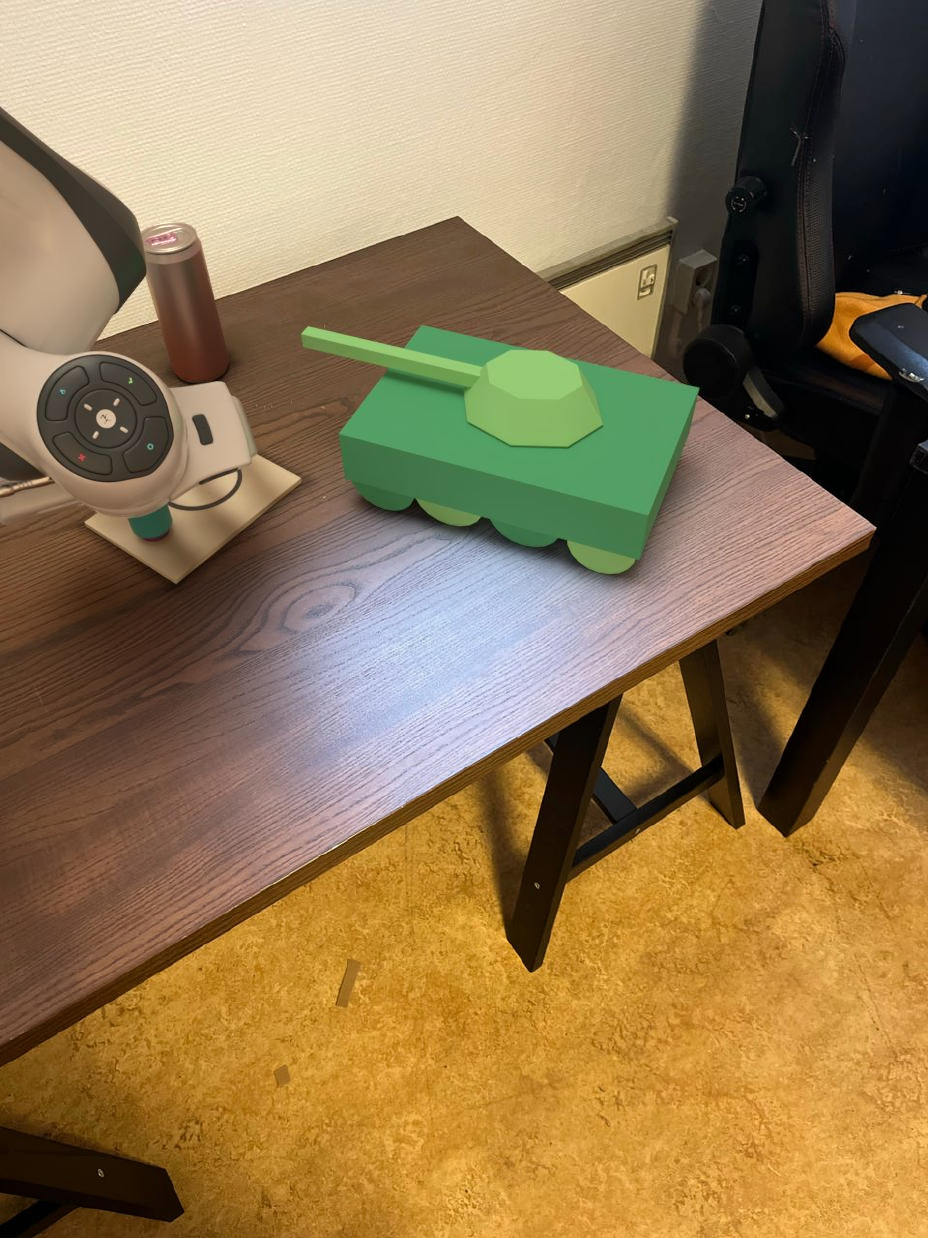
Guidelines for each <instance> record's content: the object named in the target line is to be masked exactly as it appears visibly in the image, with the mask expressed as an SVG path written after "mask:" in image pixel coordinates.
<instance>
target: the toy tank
mask: <svg viewBox="0 0 928 1238" xmlns="http://www.w3.org/2000/svg"><path fill="white" fill-rule="evenodd" d="M300 336H301V337H300V338H301V342H302V347H303V348H305V349H310V350H314V351H318V352H322V353H327V354H329V355H330V354H331V355H334V356H335V355H336V356H340V357H344V358H348V359H351V360H356V361H360V362H363V363H367V364H372V365H376V366H380V367H385V368H387V370H386V371H385V373H384V374H383V375H382V376H381V378H380V379H379V380H378V381H377V383H376V384H375V386H374V387H373V388H372V389H371V391H369V393H368V395H367V396H366V397H365V398H364V400H363V402H361V404H360V405H359V406H358V407H357V409H356V410H355V411H354V413H353V415H352V416H351V417H350V418H349V420H348V421H347V422H346V423H345V425H344V426H343V427H342V429H341V430H340V431H339V432H338V439H339V447H340V453H341V461H342V469H343V475H344V480H347V481H351V484H352V485H353V486H354V488H355V490H356V491H357V492H358V494H360V496H362V497H363V499H364V500H366V501H368V502H370V503H371V504H372V505H374V506H376V507H379V508H381V509H383V510H387V511H392V512H394V511H395V512H397V511H402V510H403V511H404V510H405V509H408V507H410V506H411V504H412V503H413V501H414V500H416V501H417V503H418V505H419V507H421V508H422V509H423V510H424V511H425V512H426V513H427V514H428V515H430V516H431V517H433V519H436V520H437V521H439V522H441V523H444V524H446V525H449V526H456V527H466V526H471V525H473V524H475V523H477V522H478V521H480V519H481V518H485V519H489V520H490V522H491V524H492V525H493V527H494V528H495V529H496V530H497V531H498V532H499V533H500V534H501V535H502V536H503V537H505V538H507V539H508V540H510V541H511V542H514V543H516V544H519V545H521V546H525V547H530V548H540V547H541V548H542V547H546V546H549V545H552V544H554V543H555V542H556V541H557V540H558V539H561V540H563V541H564V540H565V541H566V542H567V544H566V545H567V547H568V549H569V551H570V554H571V555H572V556H573V558H575V559H576V561H577V562H578V563H579V564H581V565H582V566H584V567H585V568H587V569H589V570H592V571H594V572H596V573H599V574H606V575H613V574H614V575H615V574H621V573H623V572H625V571H627V570H629V569H630V568H631V567H632V566H633V565H634V564H635V562H636V560H637V561H641V557H642V556H643V552H644V550H645V547H646V545H647V542H648V539H649V538H650V534H651V533H652V529H653V527H654V525H655V522H656V520H657V516H658V514H659V511H660V510H661V507H662V504H663V501H664V499H665V496H666V494H667V491H668V489H669V486H670V483H671V481H672V479H673V476H674V474H675V471H676V469H677V467H678V463H679V461H680V458H681V455H682V453H683V450H684V448H685V446H686V443H687V440H688V437H689V435H690V431H691V428H692V424H693V423H692V422H693V419H694V414H695V409H696V405H697V402H698V397H699V392H700V387H699V386H698V387H697V386H693V385H689V384H684V383H679V382H675V381H671V380H667V379H662V378H657V377H654V376H650V375H649V376H648V375H646V374H645V375H644V374H640V373H636V372H631V371H626V370H623V369H617V368H614V367H609V366H604V365H600V364H596V363H593V362H592V363H591V362H587V361H583V360H579V359H573V358H570V357H565V356H561V355H558V354H556V353H554V352H551V351H549V350H537V349H530V348H525V347H521V346H516V345H512V344H507V343H503V342H500V341H499V342H498V341H494V340H489V339H486V338H481V337H476V336H472V335H469V334H468V335H467V334H463V333H459V332H455V331H450V330H446V329H442V328H438V327H437V328H436V327H432V326H429V325H423V324H421V325H420V326H419V328H418V329H417V330H416V332H415V333H414V335H413V336H412V337H411V338H410V339H409V341H408V342H407V343H406V345H405V346H404V347H399V346H394V345H391V344H386V343H382V342H377V341H375V340H374V341H373V340H369V339H364V338H361V337H356V336H352V335H348V334H344V333H339V332H335V331H331V330H326V329H322V328H319V327H314V326H309V325H308V326H307V327H306V328H305V329H304V330H303V331H302V332H301V333H300Z"/></svg>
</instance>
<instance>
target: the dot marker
mask: <svg viewBox="0 0 928 1238" xmlns="http://www.w3.org/2000/svg"><path fill="white" fill-rule="evenodd" d="M127 519H128V521H129V524H130V526H131V529H132V531H133V533H134V534H135V535H137V536H139V537H141V538H142V539H144V540H145V541H148V542H156V541H160V540H162V539H164V538H165V537H166V536H167V535H168V533H169V530H170V527H171V525H172V522H173V519H172V516H171V513H170V510H169V507H168V504H165V505H164V506H163V507H161V508H160V509H158V510H156V511H155V512H152V513H150V514H148V515H145V516H141V517H136V518H127Z"/></svg>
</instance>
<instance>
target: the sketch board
mask: <svg viewBox="0 0 928 1238" xmlns="http://www.w3.org/2000/svg"><path fill="white" fill-rule="evenodd" d="M302 483H303V480H302V477H300V476H298V475H297V474H295V473H293V472H291V471H289V470H288V469H285V468H284V467H281V466H280V465H278V464H277V463H274V462H273V461H271V460H269V459H267V458H265V457H263V456H261V455H259V454H257V455H256V456H254V457H252V462H251V464H250V465H249V466H247V467H246V468H243V469H240V470H238V471H236V472H234V473H231V474H228V475H225V476H222V477H219V478H217V479H214V480H212V481H209V482H207V483H205V484H203V485H198V486H196V487H195V488H193V489H191V490H190V491H188V492H187V493H185V494H184V495H182V496H181V497H179V498H178V499H176V500H174V501H169V502H168V503H167V504H168V507H169V510H170V513H171V516H172V519H173V522H172V525H171V527H170V530H169V533H168V535H167V536H166V537H165V538H164V539H162V540H160V541H156V542H148V541H145V540H144V539H142V538H141V537H139V536H137V535H135V534H134V533H133V531H132V529H131V526H130V524H129V521H128V519H127V518H115V517H109V516H106V515H103V514H100V513H97V512H95V514H93V515H92V516H91V517H89V518H88V519H86V520H85V521H84V522H83V523H84V525H85V527H86V528H87V529H89V530H90V531H92V532H94V533H95V534H97V535H99V536H100V537H102V538H103V539H104V540H107V542H109V543H111V544H112V545H114V546H115V547H117V548H119V549H120V550H122V551H123V552H125V553H127V554H128V555H130V556H131V557H133V558H135V559H136V560H138V561H139V562H141V563H142V564H144V565H145V566H146V567H149V569H150V568H151V569H152V570H153V571H155V572H156V573H158V574H160V575H161V576H163V577H164V578H165V579H167V580H169V581H170V582H172V583H173V584H175V585H177V584H178V583H179V582H181V581H182V580H183V579H184V578H185V577H187V576H188V575H190V574H191V573H192V572H193V571H194V570H195V569H197V568H198V567H199V566H200V565H202V564H203V563H204V562H206V561H207V560H208V559H210V557H211V556H213V555H214V554H216V553H217V552H218V551H219V550H220V549H221V548H222V547H224V546H225V545H226V544H228V543H229V542H230V541H231V540H233V539H234V538H235V537H236V536H238V535H239V534H240V533H241V532H242V531H244V530H245V529H246V528H248V527H249V526H250V525H251V524H253V523H254V522H255V521H256V520H258V519H259V518H261V516H262V515H263V514H265V513H266V512H268V511H269V510H270V509H271V508H272V507H274V506H275V505H276V504H277V503H279V502H280V501H281V500H282V499H283V498H285V497H287V495H288V494H290V493H291V492H292V491H293V490H295V489H296V488H297V487H298V486H300V485H301V484H302Z"/></svg>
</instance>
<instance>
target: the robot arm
mask: <svg viewBox="0 0 928 1238" xmlns="http://www.w3.org/2000/svg"><path fill="white" fill-rule="evenodd" d="M141 232H142V231H141V228H140V225H139V222H138V220H137V217H136V215H135V214H134V212H133V211H132V210H131V209H130V208H129V207H128V206H127V205H126V204H125V203H124V202H123V201H122V199H121V198H120V197H119V196H118V195H116V193H115V192H114V191H113V190H111V189H110V188H109V187H108V186H107V185H106V184H104V183H103V182H101V181H100V180H99V179H98V178H96V177H95V176H94V175H92V174H90V173H89V172H87V171H86V170H85V169H82V168H81V167H79V166H78V165H75V164H74V163H72V162H71V161H69V160H67V159H66V158H65V157H64V156H62V155H61V154H59V153H58V152H56V151H55V150H54V149H53V148H51V147H50V146H49V145H48V144H47V143H45V142H44V141H42V140H41V138H39V137H38V136H36V135H35V134H34V133H33V132H32V131H30V130H29V129H28V128H27V127H26V126H25V125H23V124H22V123H21V122H20V121H19V120H17V119H16V118H15V117H14V116H12V115H11V114H10V113H9V112H8V111H6V109H4V108H3V107H1V106H0V524H2V525H3V526H6V527H11V526H17V525H21V524H25V523H29V522H32V521H36V520H39V519H42V518H45V517H50V516H52V515H55V514H59V513H63V512H66V511H69V510H70V511H71V510H73V509H76V508H80V507H83V506H85V507H86V508H88V509H90V510H91V511H92V512H93V511H94V512H95V513H100V514H103V515H106V516H109V517H115V518H136V517H141V516H145V515H148V514H150V513H152V512H155V511H156V510H158V509H160V508H161V507H163V506H164V505H165V504H167V503H168V502H169V501H174V500H176V499H178V498H179V497H181V496H182V495H184V494H185V493H187V492H188V491H190V490H191V489H193V488H195V487H196V486H198V485H203V484H205V483H207V482H209V481H212V480H214V479H217V478H219V477H222V476H225V475H228V474H231V473H234V472H236V471H238V470H240V469H243V468H246V467H247V466H249V465H250V464H251V462H252V457H254V456H256V455H259V449H258V445H257V443H256V439H255V436H254V433H253V430H252V427H251V424H250V421H249V419H248V416H247V413H246V411H245V408H244V405H243V403H242V401H241V400H240V399H239V398H238V397H236V396H234V395H232V394H231V391H230V390H229V387H228V386H227V384H226V383H225V382H224V381H220V380H219V381H210V382H206V383H193V384H188V385H179V386H172V387H169V386H168V385H167V384H166V383H165V382H164V381H163V380H162V379H161V378H160V377H159V376H158V375H157V374H156V373H155V372H153V371H152V370H151V369H150V368H148V367H147V366H146V365H144V364H142V363H141V362H139V361H137V360H135V359H133V358H131V357H128V356H126V355H123V354H120V353H117V352H112V351H104V350H92V349H93V347H94V346H95V344H96V343H97V341H98V340H99V338H100V336H101V335H102V333H103V332H104V330H105V329H106V327H107V326H108V324H109V322H110V320H112V318H113V316H115V315H117V314H118V312H119V311H120V310H121V309H122V308H123V306H124V305H125V303H126V302H127V301H128V300H129V298H130V297H131V296H132V295H133V293H134V292H135V291H136V290H137V288H138V287H139V285H140V284H141V283H142V282H143V280H145V279H146V277H145V276H146V273H147V269H146V259H145V251H144V245H143V240H142V236H141Z"/></svg>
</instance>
